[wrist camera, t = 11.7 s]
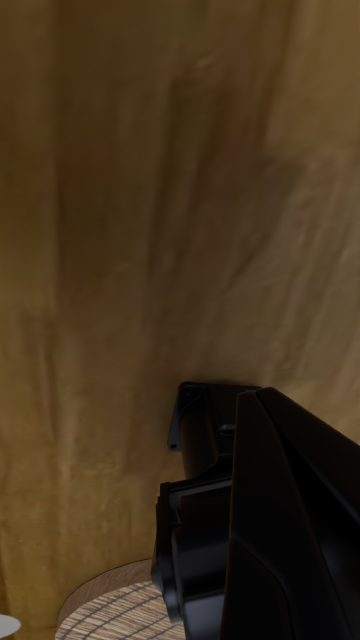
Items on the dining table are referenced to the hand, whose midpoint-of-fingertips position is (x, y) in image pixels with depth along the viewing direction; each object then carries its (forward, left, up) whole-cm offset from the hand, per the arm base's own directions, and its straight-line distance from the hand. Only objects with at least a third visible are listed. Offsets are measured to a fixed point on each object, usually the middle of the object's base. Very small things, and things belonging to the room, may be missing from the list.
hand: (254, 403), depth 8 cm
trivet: (-44, -5, -13) cm, 46 cm away
